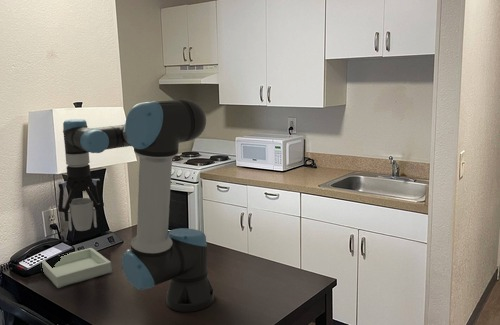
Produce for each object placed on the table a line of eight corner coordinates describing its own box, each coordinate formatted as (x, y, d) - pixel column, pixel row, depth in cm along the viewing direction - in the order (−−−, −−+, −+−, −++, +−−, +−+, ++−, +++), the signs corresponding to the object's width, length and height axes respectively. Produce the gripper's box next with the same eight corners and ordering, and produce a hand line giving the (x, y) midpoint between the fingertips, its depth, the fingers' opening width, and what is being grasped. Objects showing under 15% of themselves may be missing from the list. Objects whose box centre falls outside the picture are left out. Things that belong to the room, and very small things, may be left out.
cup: (100, 226, 163) (98, 199, 161) (82, 234, 156) (80, 206, 154) (83, 223, 167) (81, 196, 165) (65, 230, 160) (63, 202, 158)
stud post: (140, 266, 173) (139, 249, 171) (125, 271, 169) (124, 253, 168) (133, 261, 177) (132, 245, 176) (119, 266, 173) (117, 249, 172)
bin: (111, 272, 168) (111, 262, 167) (57, 288, 156) (56, 277, 155) (92, 257, 183) (91, 247, 182) (41, 270, 171) (40, 260, 170)
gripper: (107, 160, 164) (111, 220, 169) (45, 165, 156) (51, 228, 161) (110, 164, 157) (114, 227, 162) (45, 169, 149) (51, 235, 154)
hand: (83, 227), depth 161 cm, fingers closed on cup, 8 cm apart
